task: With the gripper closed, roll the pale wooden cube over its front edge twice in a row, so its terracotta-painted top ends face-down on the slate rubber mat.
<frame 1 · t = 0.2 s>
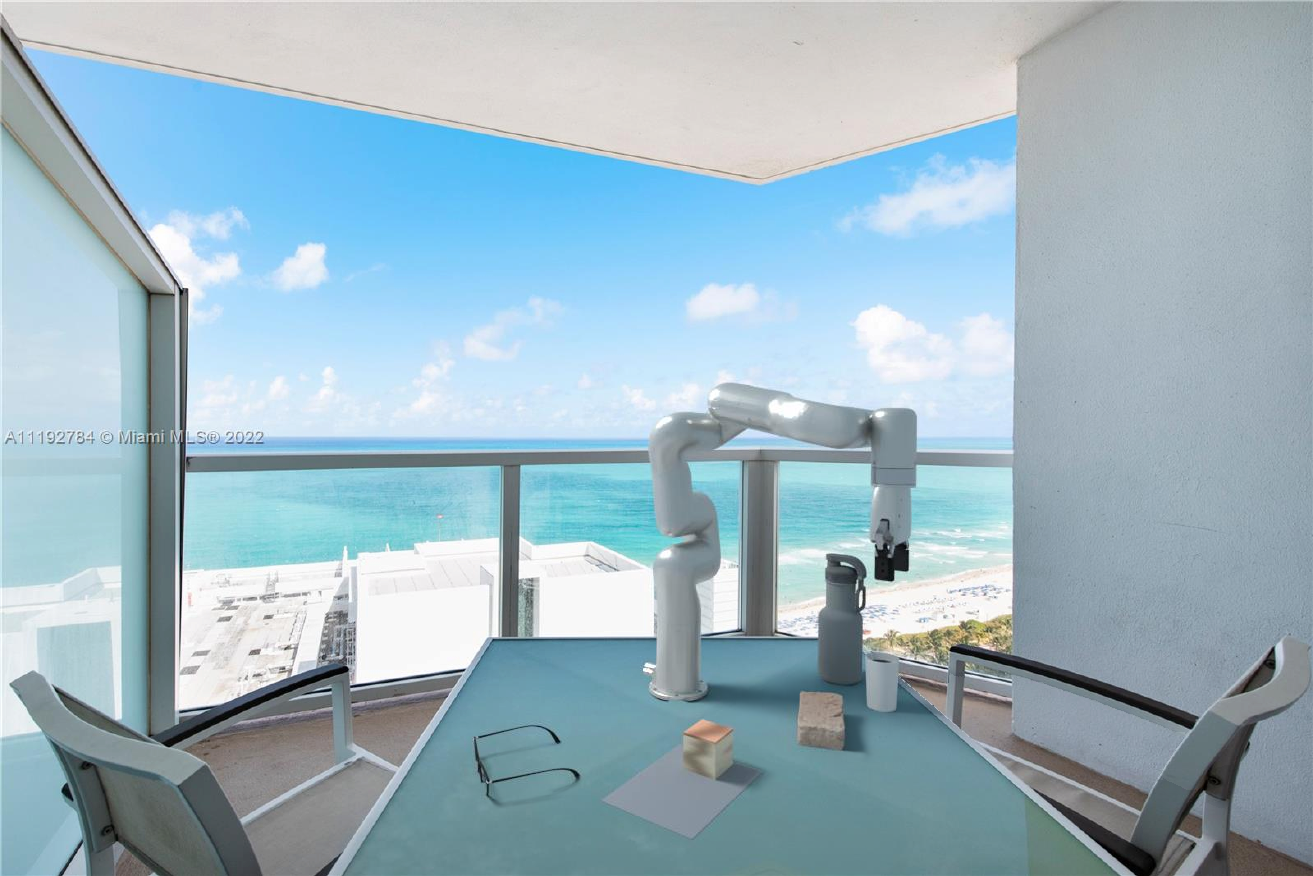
hand: (892, 575, 115), 31 cm above the table, tool pointing down, fingers open, 9 cm apart
cube: (708, 766, 108), point 1 cm above the table, touching mat
eyeglasses: (525, 771, 108), on the table
water bottle: (840, 679, 149), on the table
white cup: (881, 707, 134), on the table
mat: (685, 789, 102), on the table
brick: (821, 733, 123), on the table
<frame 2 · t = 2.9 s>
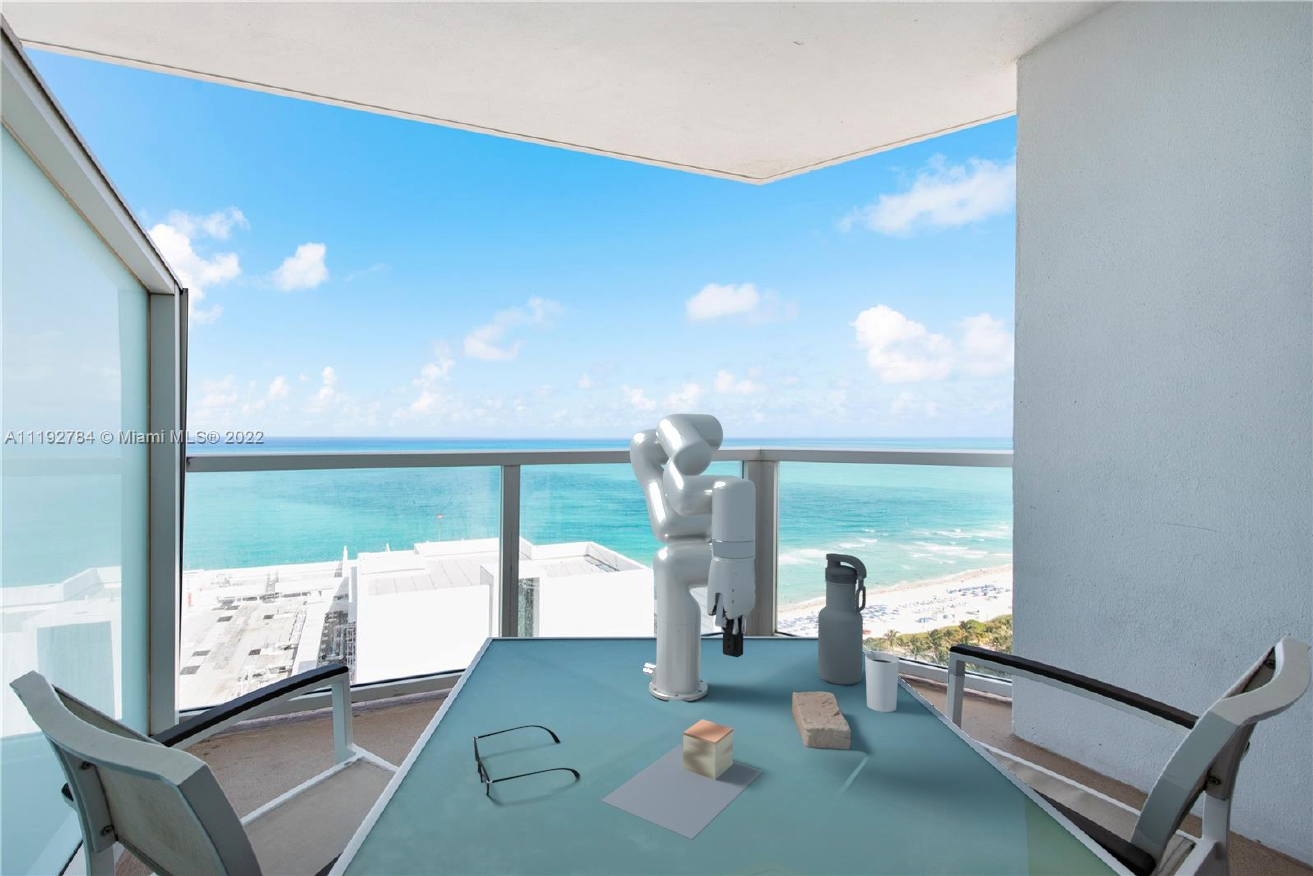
hand: (732, 654, 114), 17 cm above the table, tool pointing down, fingers closed
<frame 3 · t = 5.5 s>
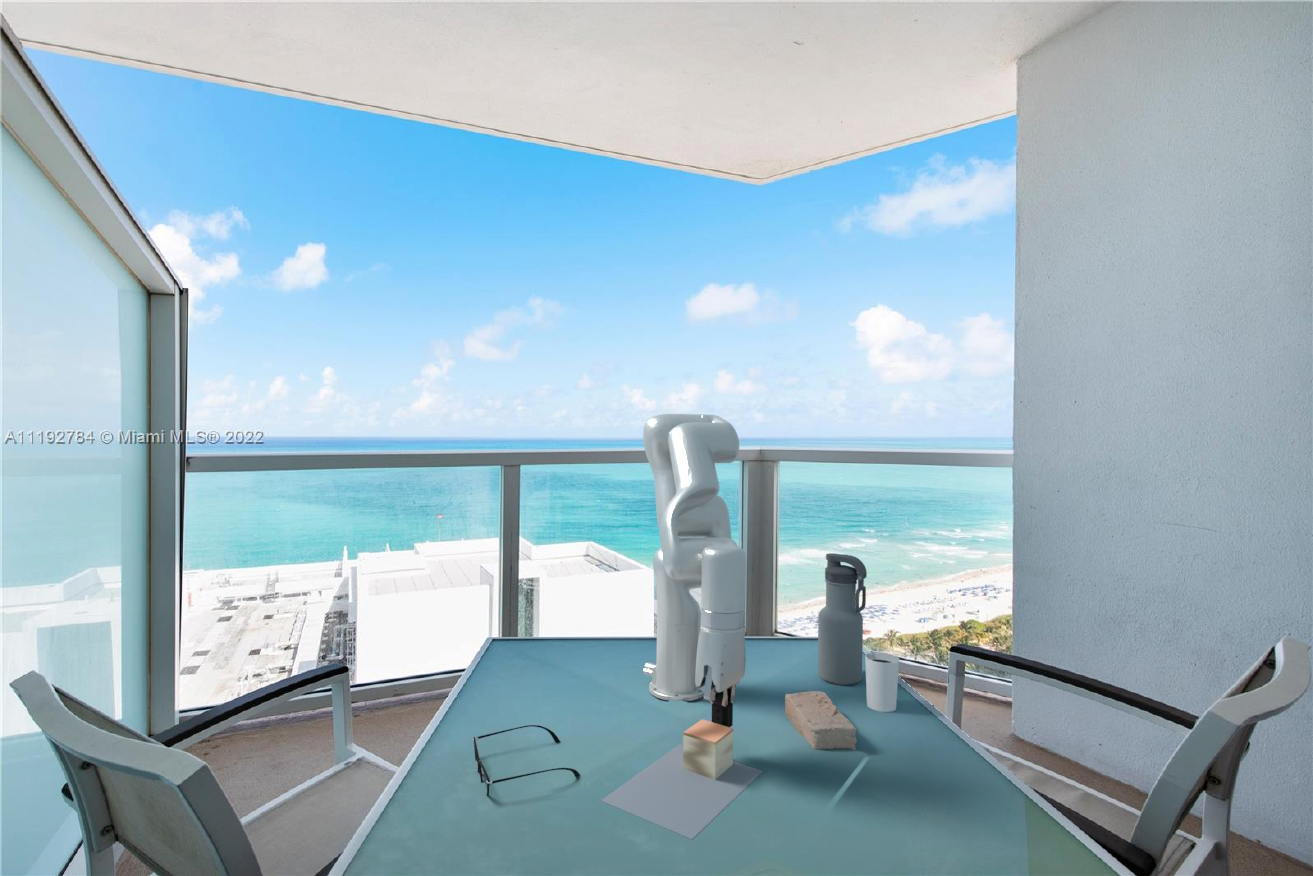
hand: (722, 725, 112), 6 cm above the table, tool pointing down, fingers closed
cube: (708, 766, 108), point 1 cm above the table, touching gripper, mat
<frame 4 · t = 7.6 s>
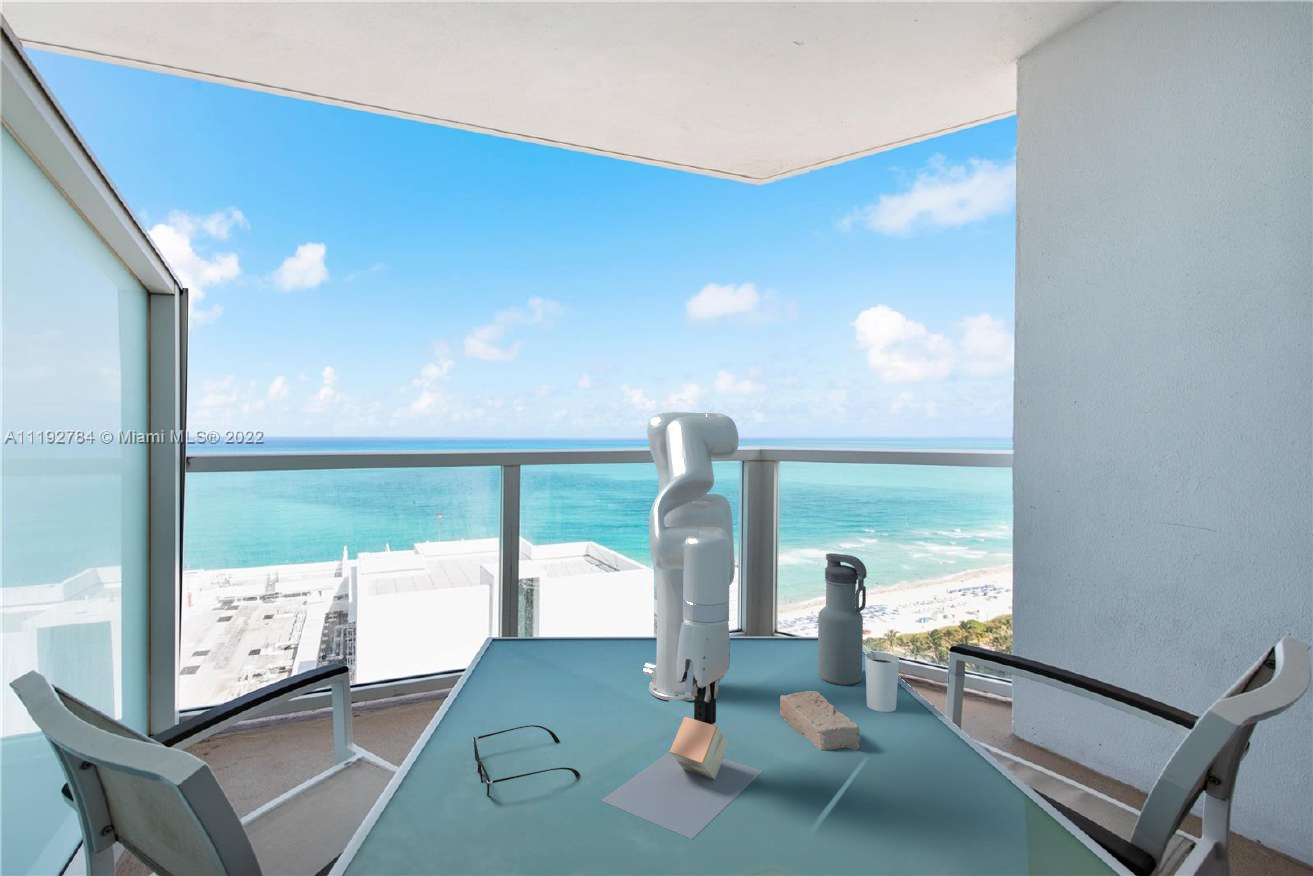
hand: (704, 722, 107), 8 cm above the table, tool pointing down, fingers closed
cube: (705, 756, 107), point 3 cm above the table, tilted 43°, touching gripper, mat
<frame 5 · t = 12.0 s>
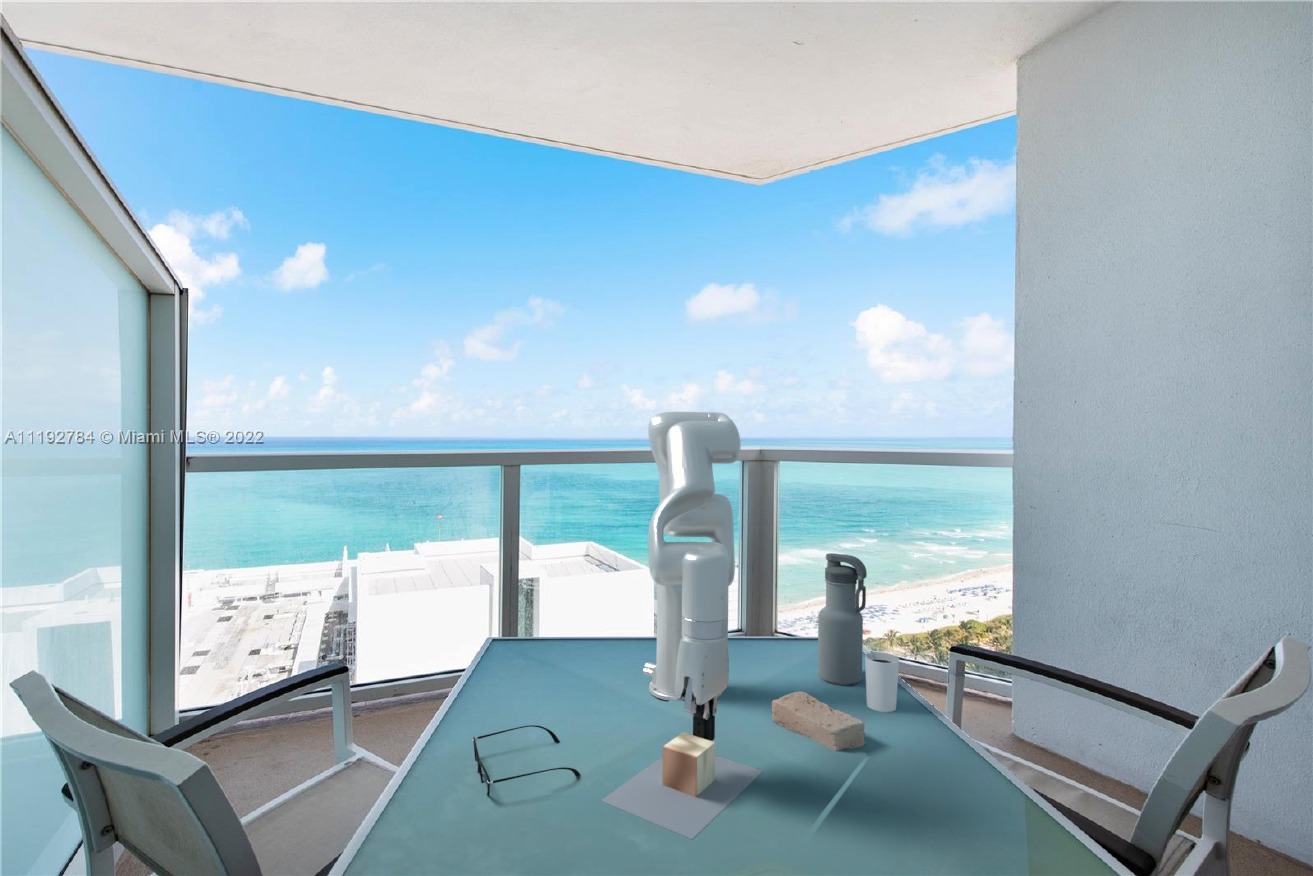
hand: (703, 739, 107), 6 cm above the table, tool pointing down, fingers closed
cube: (698, 755, 106), point 4 cm above the table, tilted 90°, touching gripper, mat
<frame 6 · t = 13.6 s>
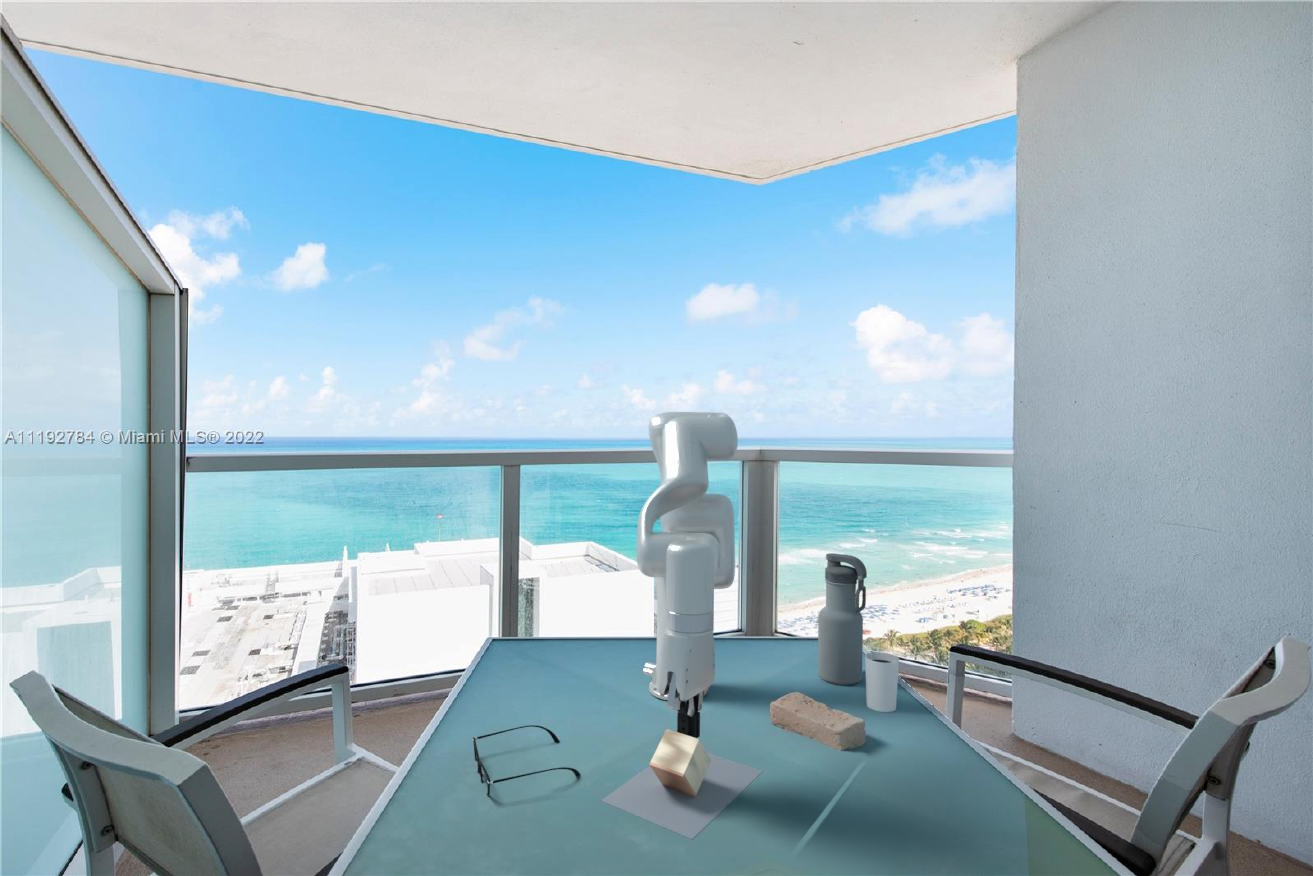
hand: (688, 736, 103), 8 cm above the table, tool pointing down, fingers closed
cube: (688, 744, 103), point 7 cm above the table, tilted 128°, touching gripper, mat
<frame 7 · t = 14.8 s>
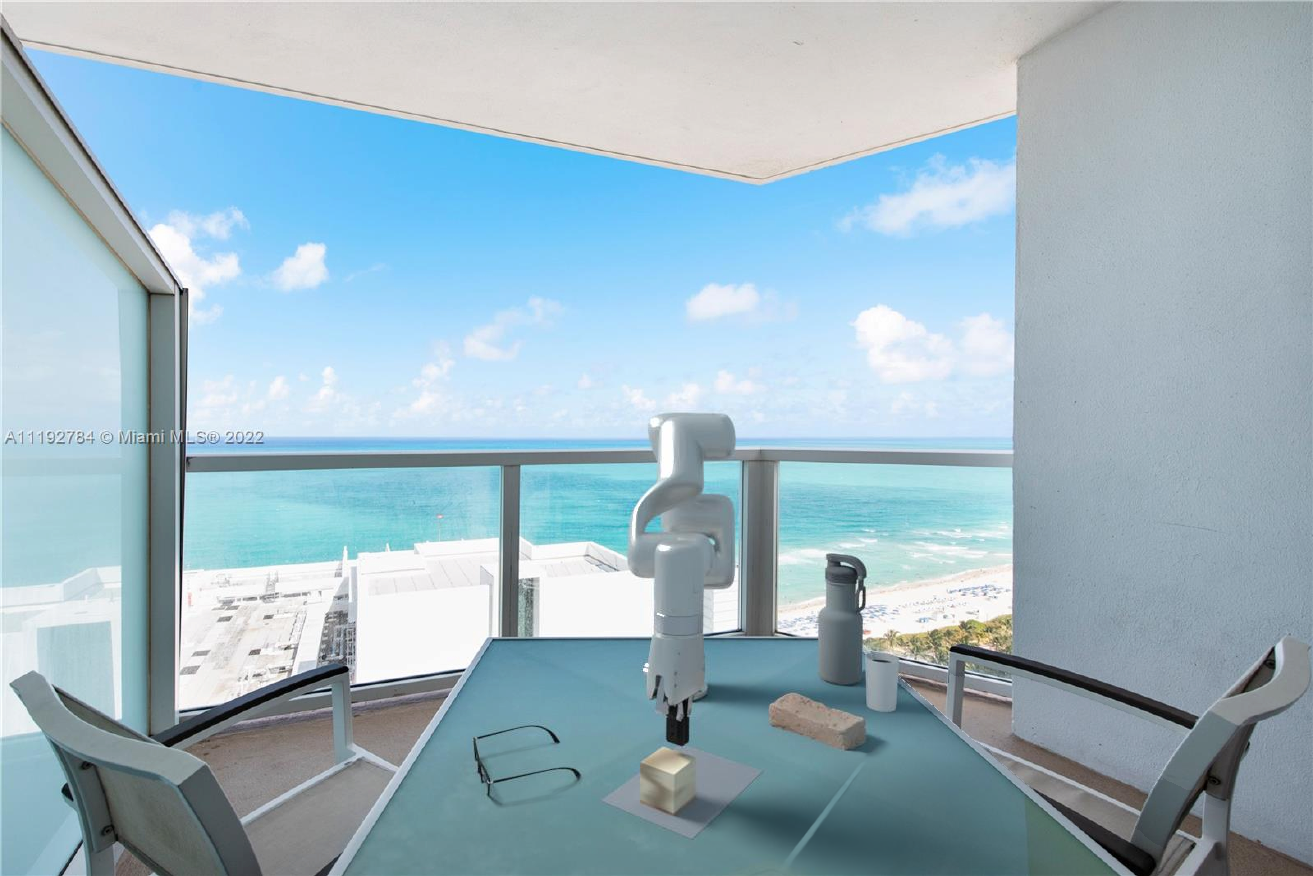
hand: (677, 741, 100), 8 cm above the table, tool pointing down, fingers closed
cube: (668, 760, 98), point 7 cm above the table, tilted 180°, touching mat
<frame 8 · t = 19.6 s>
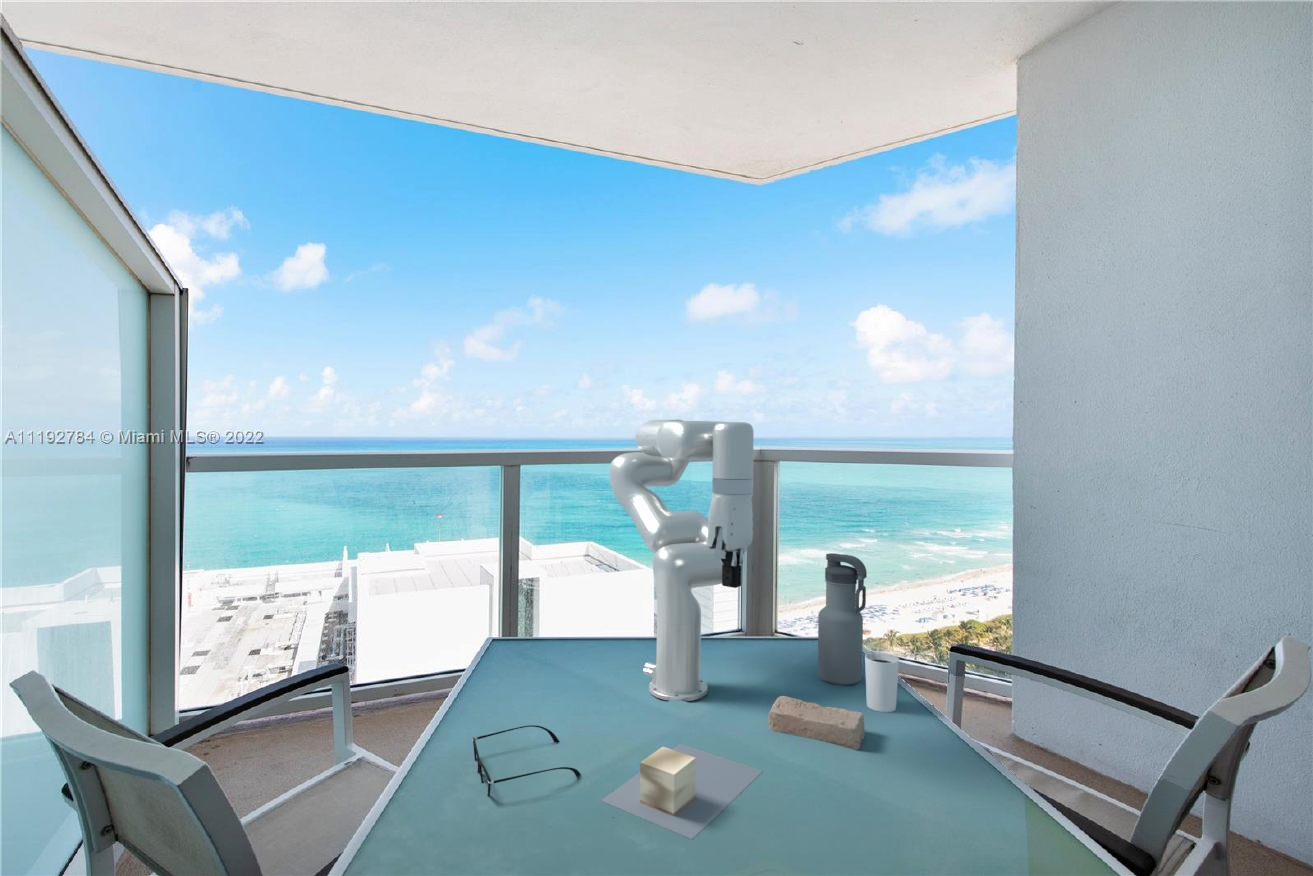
hand: (731, 585, 122), 27 cm above the table, tool pointing down, fingers closed
at the end: cube tilted 180°; cube inside the target area on the mat (1.2 cm from its centre), point 6.6 cm above the mat's base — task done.
